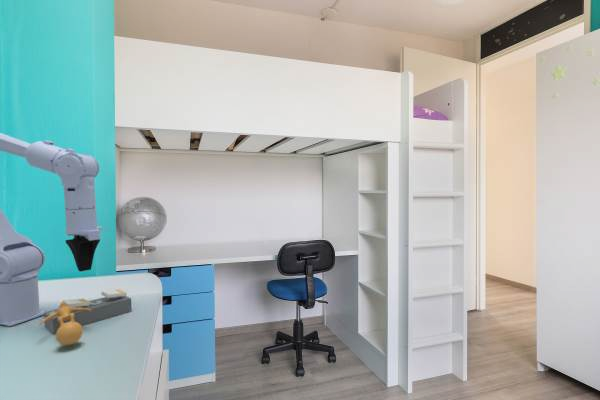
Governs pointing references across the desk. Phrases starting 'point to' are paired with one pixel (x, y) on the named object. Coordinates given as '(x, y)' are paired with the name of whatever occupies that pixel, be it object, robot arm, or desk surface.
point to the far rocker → (113, 293)
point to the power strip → (92, 312)
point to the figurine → (67, 325)
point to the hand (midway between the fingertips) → (84, 270)
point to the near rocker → (77, 303)
